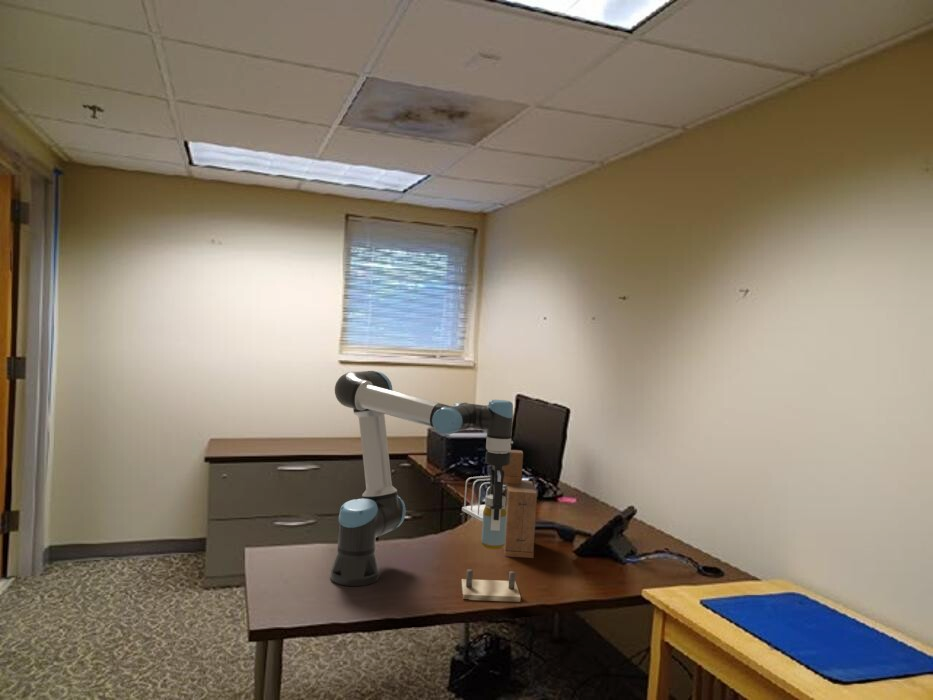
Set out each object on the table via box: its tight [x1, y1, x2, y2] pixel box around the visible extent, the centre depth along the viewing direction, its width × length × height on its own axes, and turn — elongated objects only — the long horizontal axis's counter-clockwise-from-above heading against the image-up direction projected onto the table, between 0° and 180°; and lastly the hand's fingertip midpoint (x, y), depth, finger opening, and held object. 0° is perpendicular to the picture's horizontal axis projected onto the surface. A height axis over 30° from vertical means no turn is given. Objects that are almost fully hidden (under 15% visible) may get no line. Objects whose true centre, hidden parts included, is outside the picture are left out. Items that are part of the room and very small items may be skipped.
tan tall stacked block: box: [502, 449, 538, 559], centre depth 236 cm, size 19×14×35 cm
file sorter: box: [461, 475, 506, 523], centre depth 276 cm, size 25×17×16 cm
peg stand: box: [460, 568, 522, 603], centre depth 193 cm, size 17×12×6 cm
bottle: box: [480, 493, 506, 550], centre depth 193 cm, size 7×7×15 cm
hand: (493, 526), depth 193 cm, fingers closed on bottle, 7 cm apart
